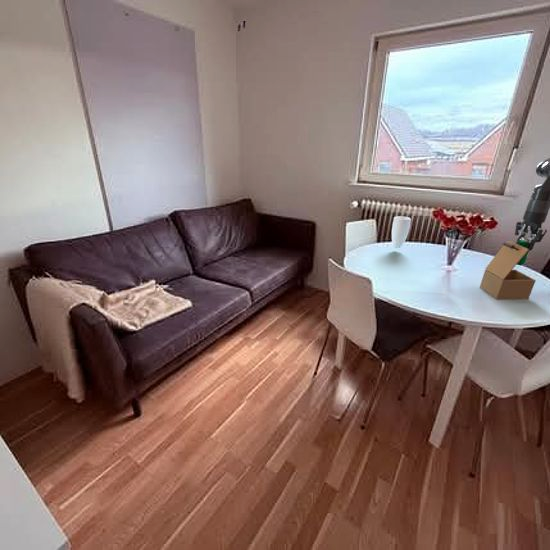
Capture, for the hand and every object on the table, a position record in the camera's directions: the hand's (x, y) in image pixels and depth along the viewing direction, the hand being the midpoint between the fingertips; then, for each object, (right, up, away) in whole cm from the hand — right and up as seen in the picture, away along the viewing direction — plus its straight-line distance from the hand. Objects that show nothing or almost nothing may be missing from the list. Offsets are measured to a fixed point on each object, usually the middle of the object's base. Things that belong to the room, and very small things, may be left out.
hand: (523, 248), depth 138 cm
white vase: (-33, +3, +60) cm, 68 cm away
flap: (-6, -5, +2) cm, 8 cm away
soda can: (0, -7, +3) cm, 8 cm away
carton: (-3, -21, +9) cm, 22 cm away
